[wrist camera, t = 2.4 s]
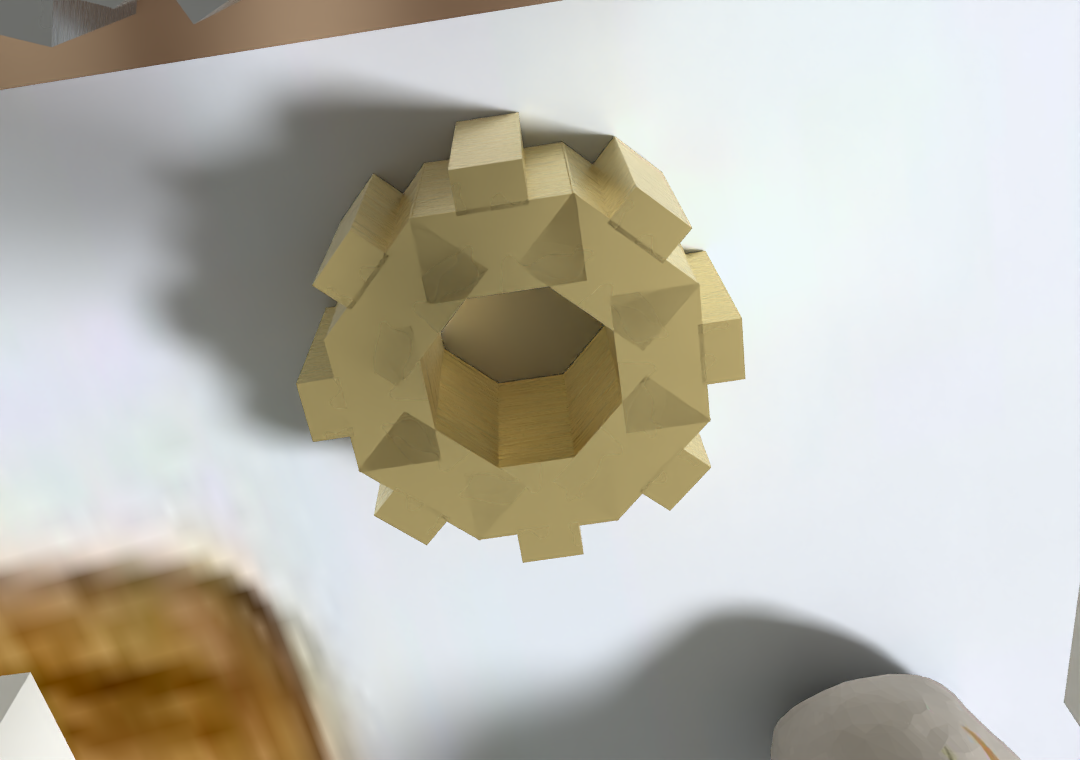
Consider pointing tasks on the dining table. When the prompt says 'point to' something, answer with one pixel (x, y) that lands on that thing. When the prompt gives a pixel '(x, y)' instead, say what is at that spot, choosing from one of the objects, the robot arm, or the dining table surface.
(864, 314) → the dining table surface
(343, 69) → the dining table surface
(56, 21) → the grey gear
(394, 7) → the board
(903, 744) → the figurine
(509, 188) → the brass gear
